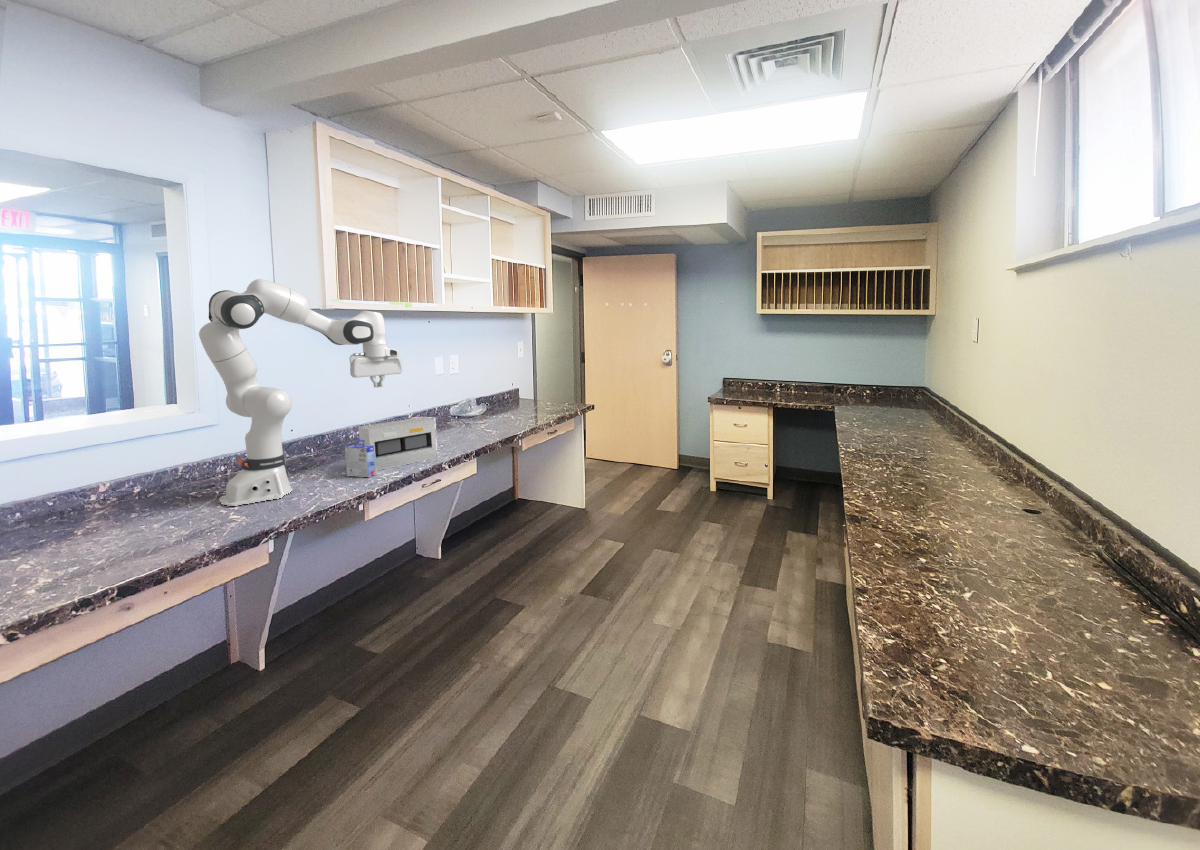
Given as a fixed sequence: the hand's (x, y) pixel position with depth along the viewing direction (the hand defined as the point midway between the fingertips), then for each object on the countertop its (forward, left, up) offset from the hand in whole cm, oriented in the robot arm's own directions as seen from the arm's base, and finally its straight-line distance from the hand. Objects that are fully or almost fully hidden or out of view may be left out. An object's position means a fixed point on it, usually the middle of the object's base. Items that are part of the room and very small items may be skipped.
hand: (378, 387), depth 227 cm
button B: (+17, +7, -29) cm, 34 cm away
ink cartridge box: (-9, +2, -35) cm, 37 cm away
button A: (+5, +8, -29) cm, 30 cm away
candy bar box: (+30, +20, -35) cm, 51 cm away
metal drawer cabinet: (+11, +8, -35) cm, 38 cm away
